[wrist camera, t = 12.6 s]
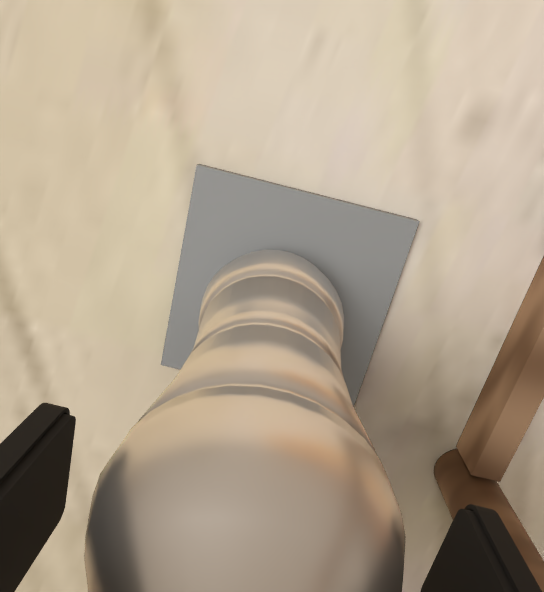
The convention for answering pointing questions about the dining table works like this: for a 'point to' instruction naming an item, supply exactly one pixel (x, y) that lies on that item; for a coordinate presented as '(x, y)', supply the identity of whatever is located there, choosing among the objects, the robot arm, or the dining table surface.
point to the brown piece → (501, 425)
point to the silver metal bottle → (251, 456)
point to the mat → (295, 239)
